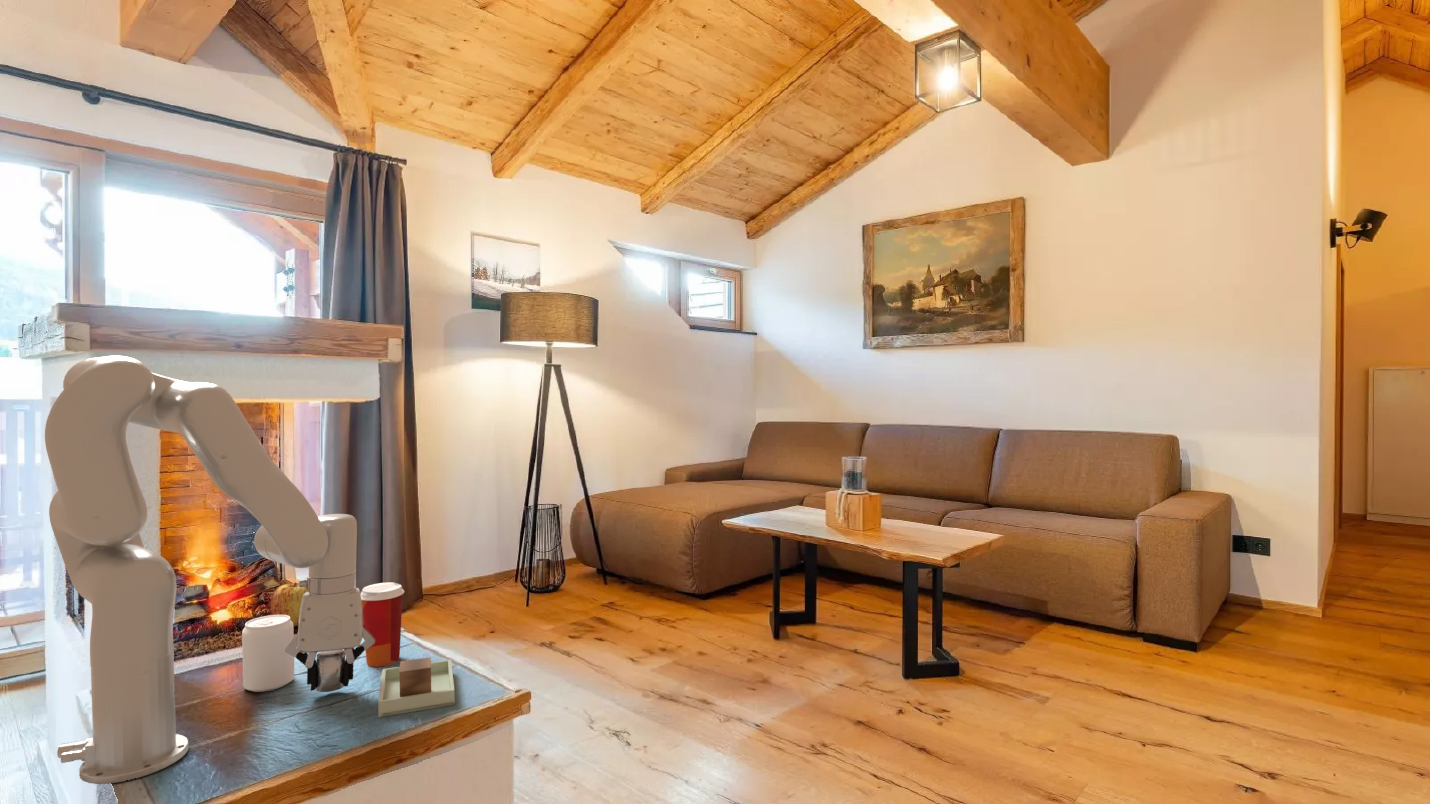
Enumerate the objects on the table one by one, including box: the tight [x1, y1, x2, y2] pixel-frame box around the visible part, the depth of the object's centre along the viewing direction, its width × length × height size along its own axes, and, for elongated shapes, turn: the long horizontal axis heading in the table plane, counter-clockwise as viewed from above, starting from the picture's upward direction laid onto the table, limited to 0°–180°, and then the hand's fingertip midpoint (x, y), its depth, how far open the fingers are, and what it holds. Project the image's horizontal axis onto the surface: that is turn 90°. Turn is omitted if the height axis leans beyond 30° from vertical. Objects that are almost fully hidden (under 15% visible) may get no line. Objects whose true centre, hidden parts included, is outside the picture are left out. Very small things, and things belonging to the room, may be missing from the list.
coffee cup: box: [360, 581, 405, 668], centre depth 144 cm, size 8×8×15 cm
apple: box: [270, 582, 308, 628], centre depth 166 cm, size 9×9×10 cm
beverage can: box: [241, 614, 296, 693], centre depth 133 cm, size 8×8×12 cm
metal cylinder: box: [315, 649, 346, 693], centre depth 129 cm, size 4×4×6 cm
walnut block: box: [399, 656, 432, 697], centre depth 126 cm, size 5×5×6 cm
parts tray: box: [377, 658, 456, 718], centre depth 129 cm, size 12×15×3 cm
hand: (330, 684), depth 129 cm, fingers closed on metal cylinder, 4 cm apart
